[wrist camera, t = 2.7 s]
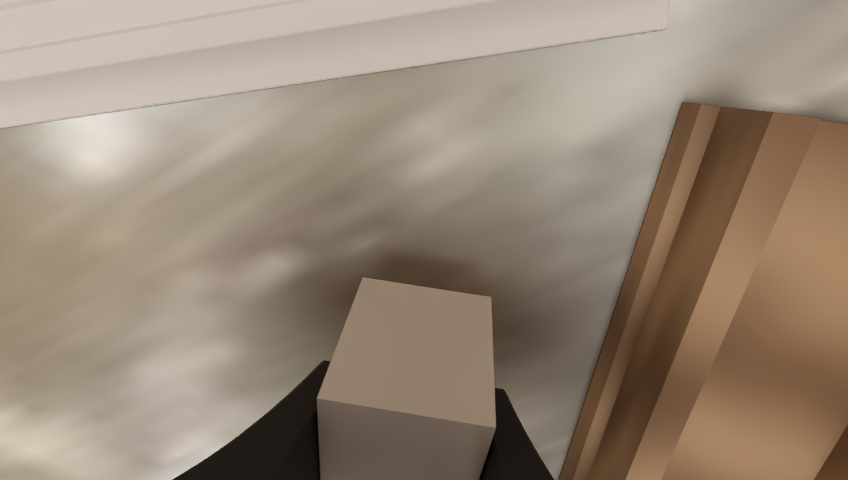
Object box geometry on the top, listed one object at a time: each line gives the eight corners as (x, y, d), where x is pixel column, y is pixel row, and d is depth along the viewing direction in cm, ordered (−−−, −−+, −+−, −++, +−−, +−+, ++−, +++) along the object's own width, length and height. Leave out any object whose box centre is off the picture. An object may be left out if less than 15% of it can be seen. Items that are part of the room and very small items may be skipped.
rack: (782, 546, 17) (844, 635, 15) (550, 506, 18) (566, 587, 15) (1031, 149, 12) (1210, 171, 9) (682, 102, 12) (750, 108, 9)
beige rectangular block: (437, 511, 18) (428, 633, 15) (354, 497, 18) (326, 615, 15) (491, 297, 12) (496, 427, 8) (362, 277, 12) (316, 398, 9)
